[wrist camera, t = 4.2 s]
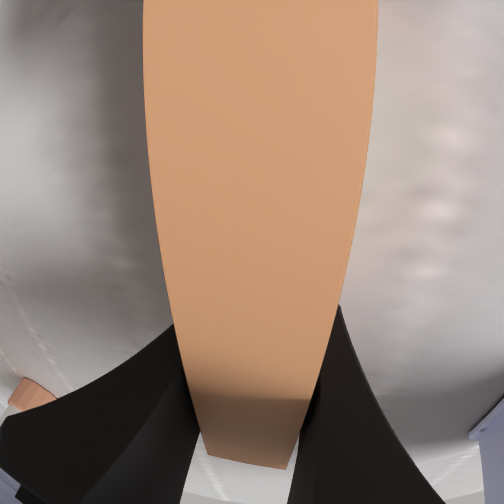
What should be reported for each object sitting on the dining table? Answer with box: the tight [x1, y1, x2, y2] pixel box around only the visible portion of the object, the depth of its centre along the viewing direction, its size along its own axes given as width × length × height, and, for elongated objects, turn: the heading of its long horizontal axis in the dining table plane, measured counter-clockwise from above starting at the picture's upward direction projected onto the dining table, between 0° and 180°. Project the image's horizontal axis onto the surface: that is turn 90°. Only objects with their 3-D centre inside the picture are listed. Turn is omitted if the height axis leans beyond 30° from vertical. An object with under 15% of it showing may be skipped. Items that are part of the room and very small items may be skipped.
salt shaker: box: [0, 378, 56, 426], centre depth 18 cm, size 7×7×19 cm
